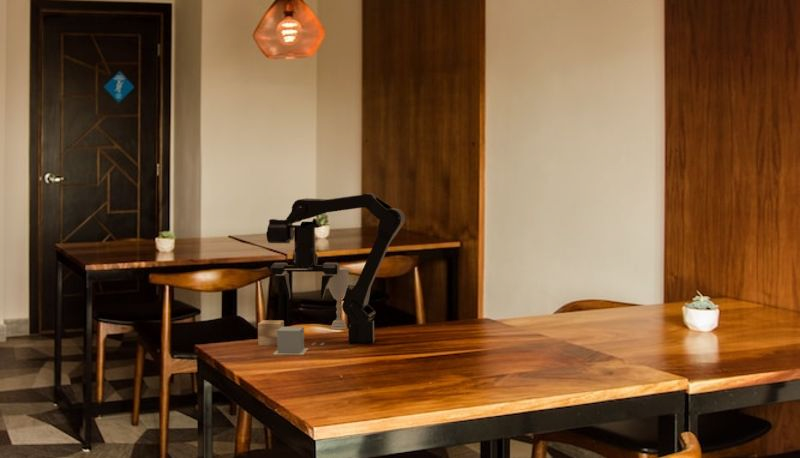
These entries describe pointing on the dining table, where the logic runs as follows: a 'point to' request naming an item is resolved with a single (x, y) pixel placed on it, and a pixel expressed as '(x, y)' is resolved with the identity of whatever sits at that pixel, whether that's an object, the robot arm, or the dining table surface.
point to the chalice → (339, 294)
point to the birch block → (268, 332)
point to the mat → (290, 353)
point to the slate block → (290, 339)
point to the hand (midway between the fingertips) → (305, 299)
